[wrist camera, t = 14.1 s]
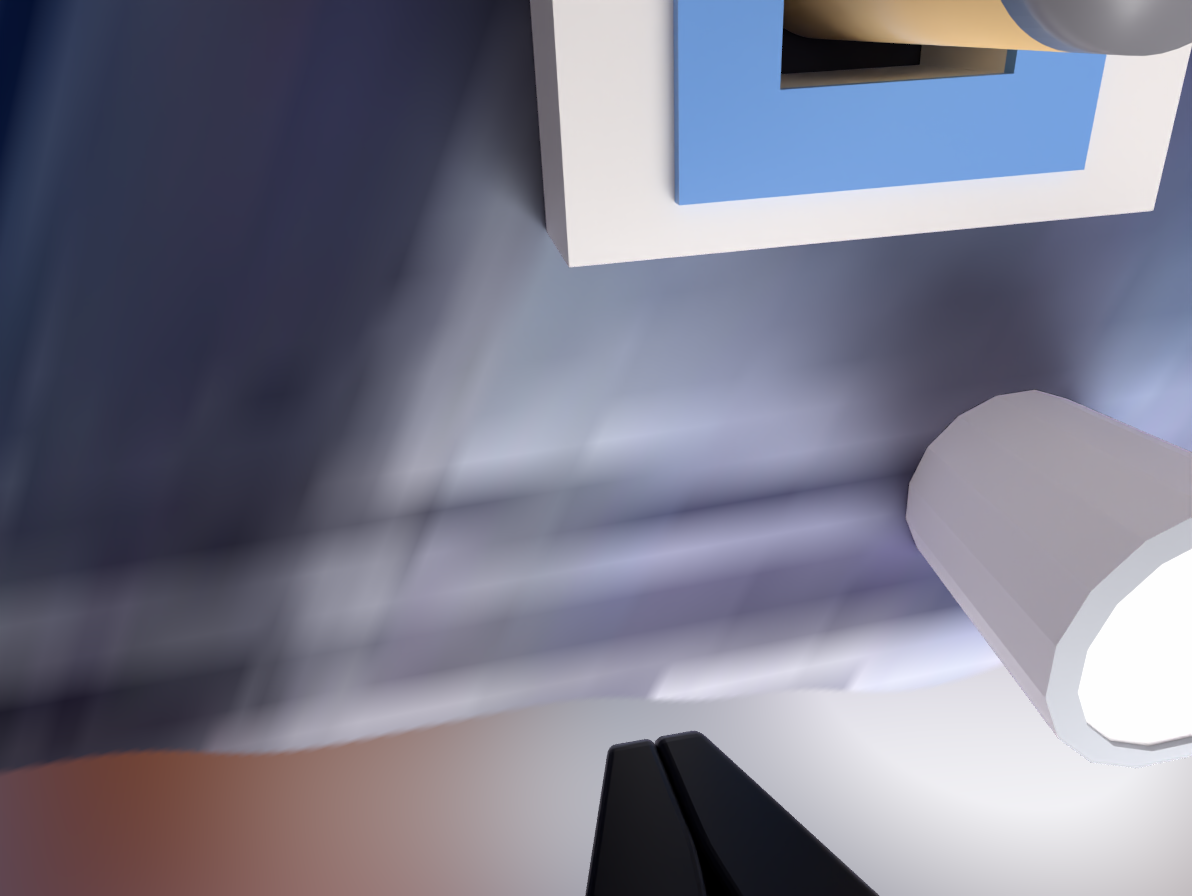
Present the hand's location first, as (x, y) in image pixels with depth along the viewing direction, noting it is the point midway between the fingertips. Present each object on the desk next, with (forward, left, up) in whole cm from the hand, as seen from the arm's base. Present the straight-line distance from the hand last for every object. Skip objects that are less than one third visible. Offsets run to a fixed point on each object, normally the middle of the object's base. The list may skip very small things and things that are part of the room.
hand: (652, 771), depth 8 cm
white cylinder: (+13, -6, -13) cm, 20 cm away
